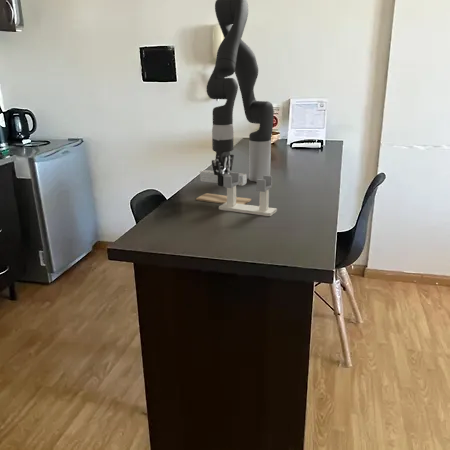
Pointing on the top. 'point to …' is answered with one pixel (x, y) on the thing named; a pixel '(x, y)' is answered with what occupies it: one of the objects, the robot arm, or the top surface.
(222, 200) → the mat
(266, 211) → the rail stand
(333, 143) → the top surface
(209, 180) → the rail
